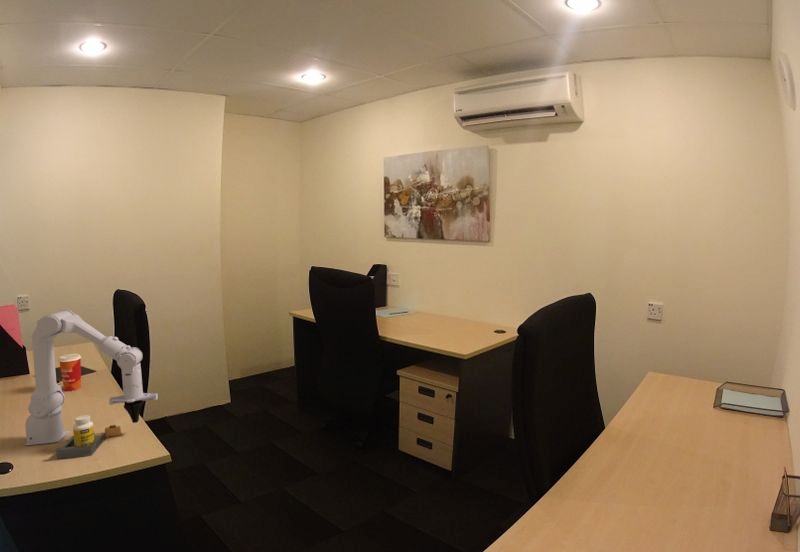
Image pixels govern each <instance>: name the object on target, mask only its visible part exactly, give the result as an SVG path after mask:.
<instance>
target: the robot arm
mask: <svg viewBox="0 0 800 552" xmlns="http://www.w3.org/2000/svg"><path fill="white" fill-rule="evenodd" d="M74 333H75V334H76V335H78V336H80V337H82V338H84V339H86V340H88V341H90V342H91V343H94V344H96V345H97V346H98V350H99V351H100V352H101V353H103V354H104V355H107V356H108V357H110V358H112V359H113V360H115V361H116V363H117V366H118V367H119V368H120V370H121V379H122V392H123V395H118V396H113V397H110V398H109V399H108V404H109V405H114V404H123V403H124V404H123V409H125V411H126V413H128V415H129V417H130V419H131V422H132V424H136V423H138V422H139V420H140V413H141V410H142V406H143V405H144V402H145V401H146V402H147V401H157V400H158V399H159V396H158V392H155V393H153V392H144V390H143V389H144V388H143V378H142V367H141V361H142V360H143V357H144V356H143V352H142V350H140V348H138V347H135V346H132V347H131V345H127V344H125V343H124V342H122V341H120V340H119V337H117V336H112V335H109V336H106V335H104V334H103V333H102V332H101V331H99V330H97V329H96V328H94V327H93V326H92V325H90V324H88V322H86V321H85V320H83V318H81V316H80V315H78V314H76V313H74V312H73V311H72V310H70V309H62V310H60V311H57V312H54V313H52V314H46V315H44V316H42V317H41V318H40V319H39V320H37V321H36V327H35V329H34V331H33V333H31V346H32V355H33V356H32V357H33V367H34V380H35V382H34V383H35V389H34V390H33V392H32V393H31V396H30V402H29V403H28V406H27V407H28V408H27V410H28V413H29V414H30V415H29V416H28V417H27V418H26V420H25V438H26V444H25V446H33V445H34V446H35V445H43V444H51V443H52V444H53V443H58V442H61V440H63V438H64V437H65V436H67V435H68V434H69V433H70V430H64V423H63V422H64V421H63V411H62V409H63V404H64V403H65V401H66V396H65V394H64V393H63V390H62V385H61V384H60V385H59V384H57V383H56V371H55V368H56V362H55V361H56V360H55V359H56V358H55V349H54V346H55V344H54V338H56V337H57V336H58V335H60V334H74Z"/></svg>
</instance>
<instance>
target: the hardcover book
mask: <svg viewBox="0 0 800 552" xmlns="http://www.w3.org/2000/svg"><path fill="white" fill-rule="evenodd" d="M55 371H56V382H57V383H61V382H63V380H62V374H61V368H60V366H57V367H55ZM97 372H98V371H97V370H94V369H92V368H89V367H85V366H82V365H81V377H84V376H88V375H92V374H95V373H96V374H97ZM92 376H93V375H92Z"/></svg>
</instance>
